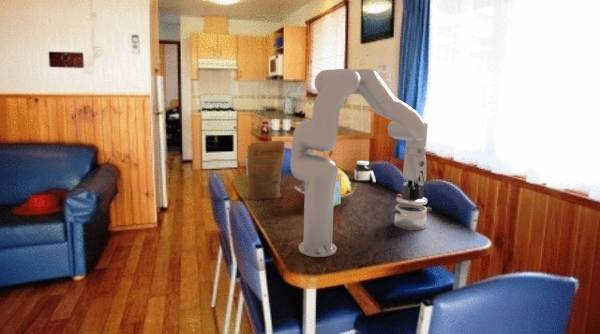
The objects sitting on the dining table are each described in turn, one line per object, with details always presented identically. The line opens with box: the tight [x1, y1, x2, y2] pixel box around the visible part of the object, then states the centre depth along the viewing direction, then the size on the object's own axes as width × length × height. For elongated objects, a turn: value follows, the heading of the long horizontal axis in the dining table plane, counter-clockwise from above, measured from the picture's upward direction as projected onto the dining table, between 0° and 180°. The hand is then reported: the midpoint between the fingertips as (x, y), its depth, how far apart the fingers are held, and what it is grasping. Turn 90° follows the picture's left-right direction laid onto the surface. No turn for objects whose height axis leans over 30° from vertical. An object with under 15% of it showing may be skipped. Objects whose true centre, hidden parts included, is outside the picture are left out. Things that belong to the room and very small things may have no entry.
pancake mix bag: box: [246, 140, 286, 201], centre depth 194 cm, size 7×19×28 cm, turn 112°
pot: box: [389, 203, 433, 231], centre depth 162 cm, size 12×17×8 cm
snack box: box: [304, 172, 342, 207], centre depth 182 cm, size 21×6×15 cm, turn 141°
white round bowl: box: [396, 185, 428, 206], centre depth 160 cm, size 12×12×6 cm
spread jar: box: [353, 160, 377, 183], centre depth 237 cm, size 12×11×12 cm
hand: (412, 197), depth 160 cm, fingers closed on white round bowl, 2 cm apart
